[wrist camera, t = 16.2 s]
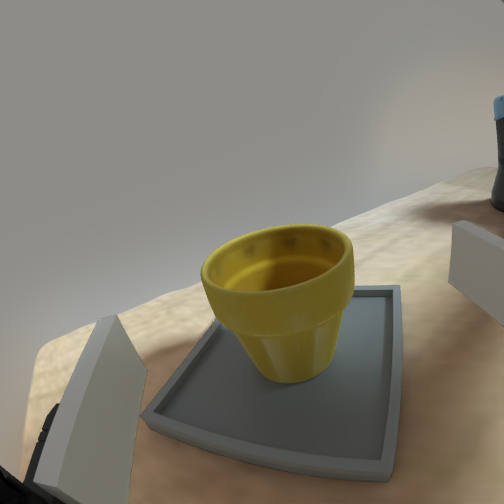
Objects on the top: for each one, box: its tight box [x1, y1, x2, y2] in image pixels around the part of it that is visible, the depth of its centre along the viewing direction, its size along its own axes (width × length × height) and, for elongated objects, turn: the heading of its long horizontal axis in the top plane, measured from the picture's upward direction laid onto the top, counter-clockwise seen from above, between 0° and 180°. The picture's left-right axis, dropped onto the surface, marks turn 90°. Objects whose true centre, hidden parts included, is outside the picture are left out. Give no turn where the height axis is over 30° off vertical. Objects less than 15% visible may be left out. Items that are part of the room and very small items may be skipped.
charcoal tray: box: [140, 285, 402, 482], centre depth 24 cm, size 20×18×2 cm
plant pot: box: [201, 224, 355, 384], centre depth 22 cm, size 10×10×10 cm
